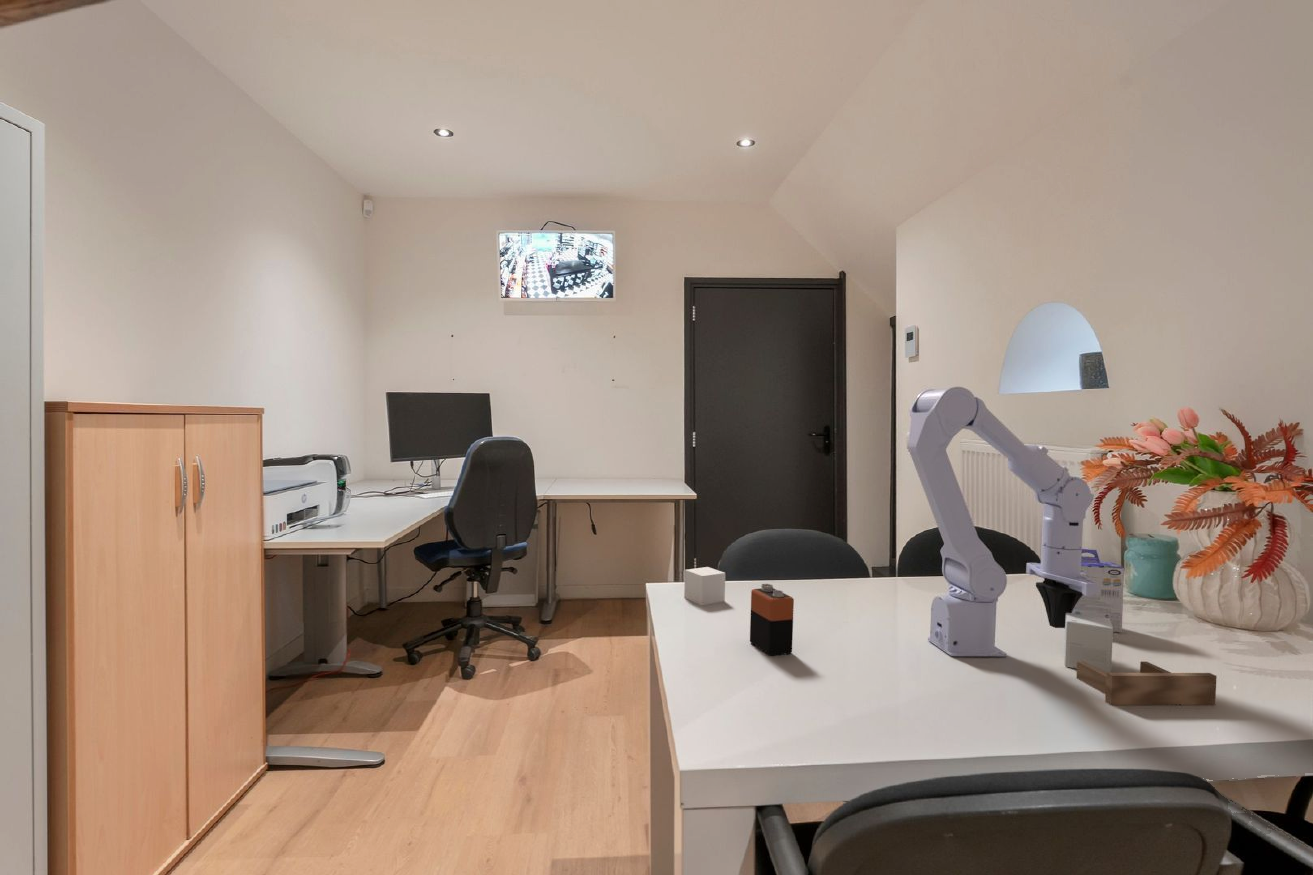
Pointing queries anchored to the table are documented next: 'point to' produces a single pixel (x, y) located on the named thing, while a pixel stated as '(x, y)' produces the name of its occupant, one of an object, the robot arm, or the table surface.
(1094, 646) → the product box
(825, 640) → the table surface
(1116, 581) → the ink cartridge box
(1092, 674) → the walnut holder
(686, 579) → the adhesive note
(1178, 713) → the table surface
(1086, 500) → the robot arm
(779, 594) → the battery
